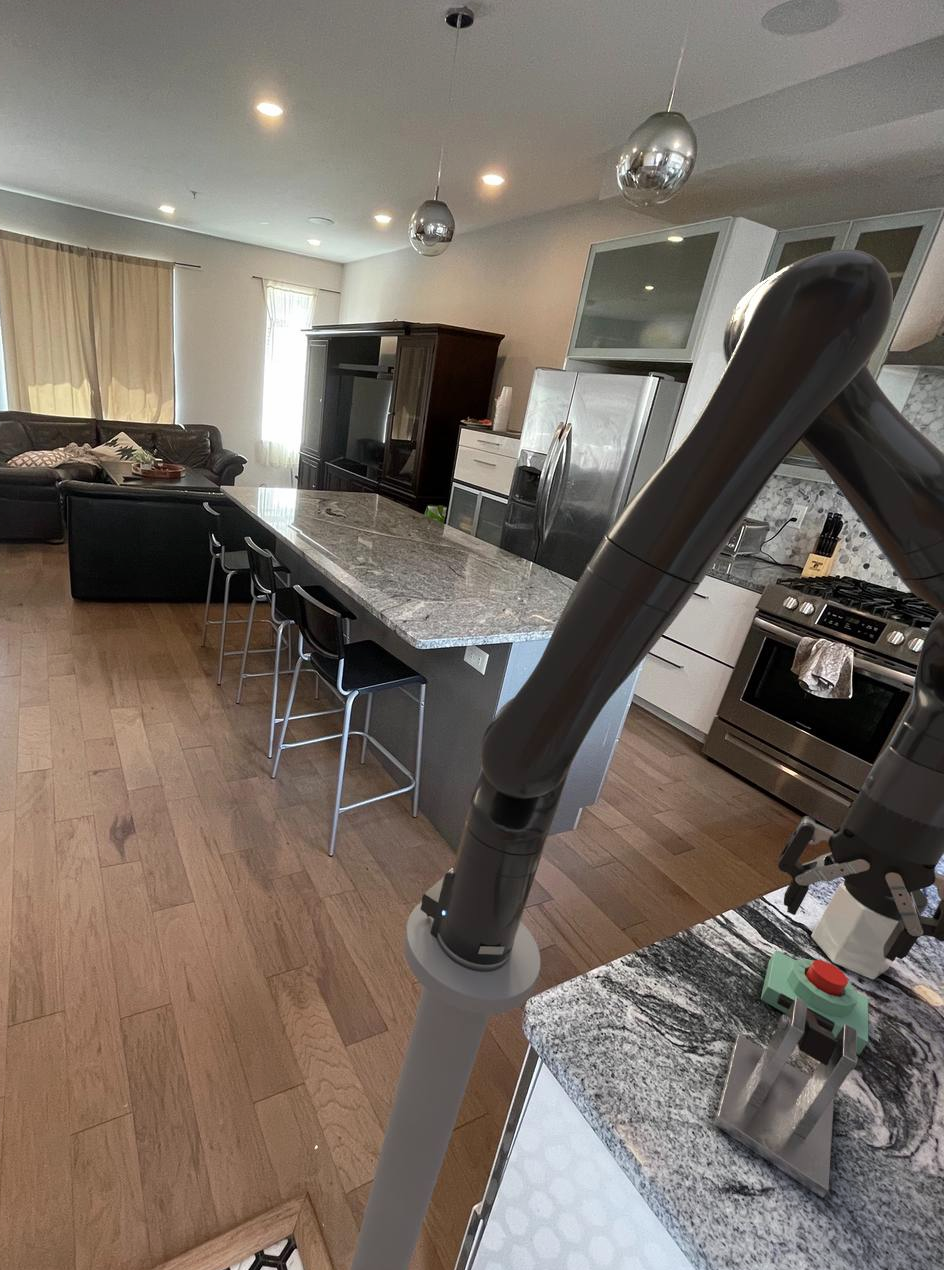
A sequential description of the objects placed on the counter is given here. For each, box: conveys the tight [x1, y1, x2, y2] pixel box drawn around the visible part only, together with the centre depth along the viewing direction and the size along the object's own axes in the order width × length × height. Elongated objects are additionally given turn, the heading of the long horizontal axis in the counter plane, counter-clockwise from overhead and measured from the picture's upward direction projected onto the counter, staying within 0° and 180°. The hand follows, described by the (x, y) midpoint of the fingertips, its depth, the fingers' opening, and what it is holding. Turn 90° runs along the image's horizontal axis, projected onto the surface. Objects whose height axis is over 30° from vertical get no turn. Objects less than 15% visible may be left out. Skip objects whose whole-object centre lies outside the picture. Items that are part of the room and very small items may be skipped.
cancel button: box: [806, 959, 849, 996], centre depth 74 cm, size 4×4×2 cm
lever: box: [777, 993, 837, 1066], centre depth 62 cm, size 12×5×2 cm, turn 142°
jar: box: [810, 879, 929, 980], centre depth 83 cm, size 9×8×12 cm
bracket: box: [713, 997, 859, 1199], centre depth 60 cm, size 12×9×12 cm
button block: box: [760, 949, 869, 1056], centre depth 75 cm, size 10×8×4 cm
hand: (837, 931), depth 65 cm, fingers open, 8 cm apart
